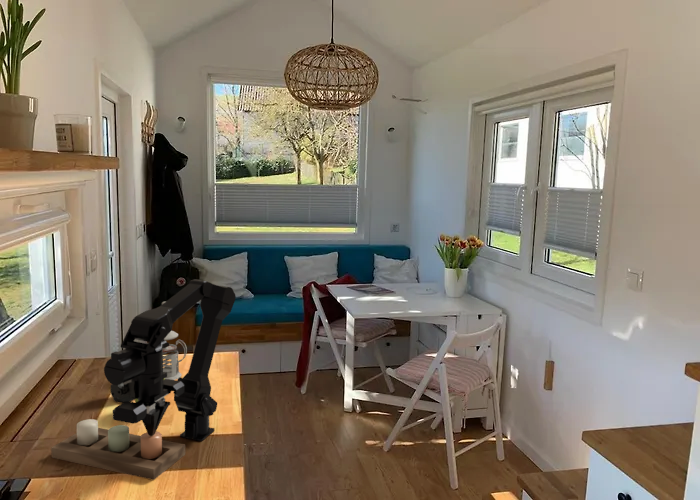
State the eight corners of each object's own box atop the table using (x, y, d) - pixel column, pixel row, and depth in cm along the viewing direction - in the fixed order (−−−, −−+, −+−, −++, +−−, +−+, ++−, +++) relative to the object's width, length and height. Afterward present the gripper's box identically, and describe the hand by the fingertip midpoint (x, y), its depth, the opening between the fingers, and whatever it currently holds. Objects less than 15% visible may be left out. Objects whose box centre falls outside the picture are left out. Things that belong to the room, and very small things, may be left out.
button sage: (117, 441, 136) (117, 423, 135) (133, 444, 134) (133, 426, 134) (104, 449, 131) (103, 432, 131) (120, 453, 130) (120, 435, 129)
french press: (157, 370, 189) (155, 297, 186) (191, 371, 189) (190, 298, 186) (145, 380, 180) (143, 304, 176) (181, 382, 179) (180, 305, 176)
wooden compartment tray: (89, 435, 143) (89, 425, 143) (185, 454, 135) (185, 444, 134) (51, 457, 132) (51, 447, 131) (153, 480, 123) (153, 469, 123)
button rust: (149, 447, 133) (149, 429, 132) (166, 450, 132) (165, 433, 131) (136, 456, 129) (136, 438, 128) (153, 460, 127) (153, 442, 127)
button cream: (87, 434, 138) (86, 418, 138) (102, 438, 137) (101, 421, 136) (72, 443, 134) (72, 425, 133) (88, 446, 133) (88, 429, 132)
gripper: (146, 353, 139) (147, 413, 141) (90, 379, 121) (93, 447, 123) (185, 358, 135) (186, 420, 138) (134, 386, 118) (136, 456, 120)
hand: (151, 435), depth 130 cm, fingers closed
